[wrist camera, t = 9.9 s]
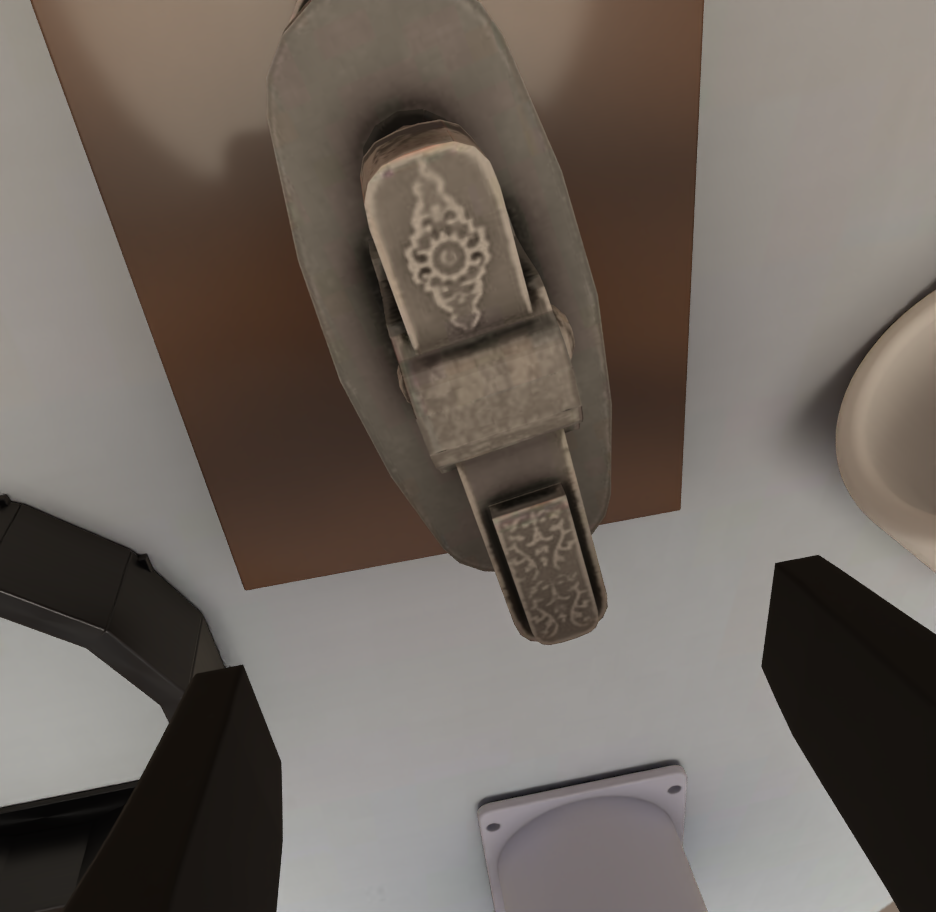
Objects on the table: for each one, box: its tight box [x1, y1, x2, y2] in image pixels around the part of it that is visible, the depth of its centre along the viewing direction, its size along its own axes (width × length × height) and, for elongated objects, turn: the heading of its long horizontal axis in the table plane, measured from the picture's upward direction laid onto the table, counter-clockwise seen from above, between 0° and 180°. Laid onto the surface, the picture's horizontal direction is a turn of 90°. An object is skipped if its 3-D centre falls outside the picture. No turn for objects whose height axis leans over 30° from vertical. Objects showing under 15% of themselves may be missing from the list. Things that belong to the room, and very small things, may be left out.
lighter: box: [266, 0, 612, 645], centre depth 12 cm, size 8×3×10 cm, turn 16°
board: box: [30, 0, 704, 590], centre depth 17 cm, size 20×12×1 cm, turn 7°
